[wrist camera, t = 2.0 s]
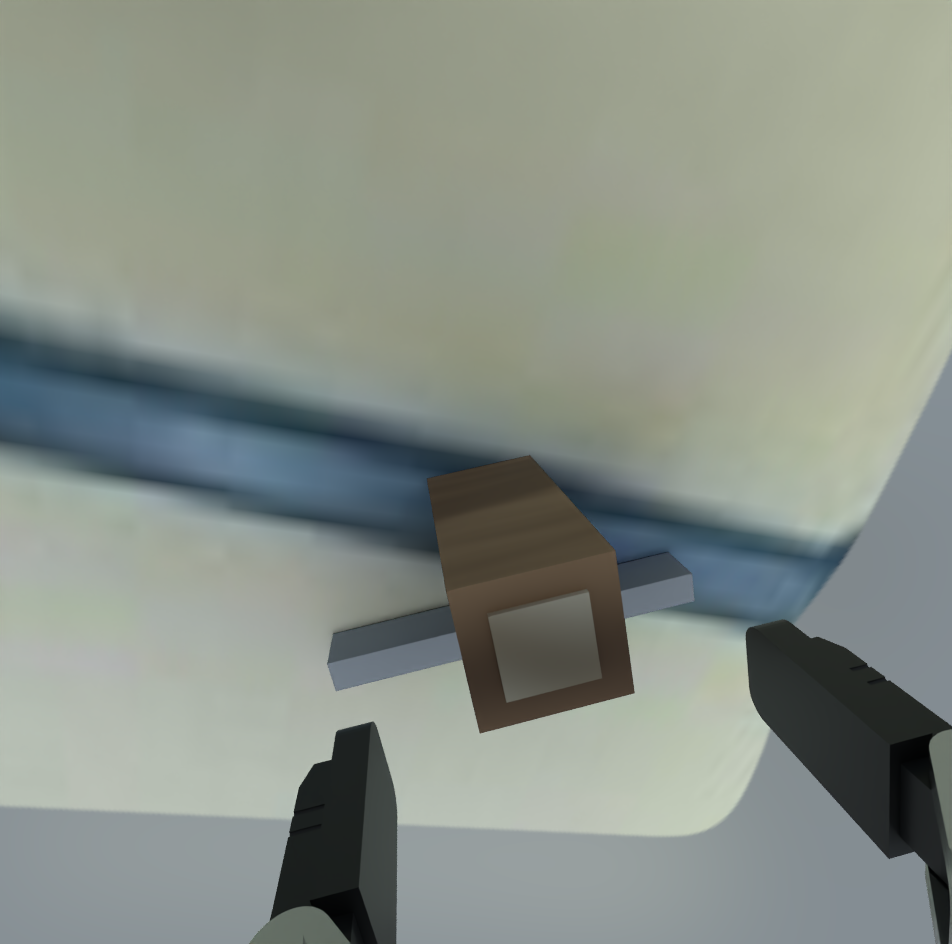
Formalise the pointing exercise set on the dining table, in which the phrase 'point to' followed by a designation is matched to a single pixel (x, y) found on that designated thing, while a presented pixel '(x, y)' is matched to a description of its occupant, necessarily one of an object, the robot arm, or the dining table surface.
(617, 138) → the dining table surface
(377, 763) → the robot arm
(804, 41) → the dining table surface
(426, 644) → the rail
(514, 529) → the walnut block
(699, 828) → the dining table surface
